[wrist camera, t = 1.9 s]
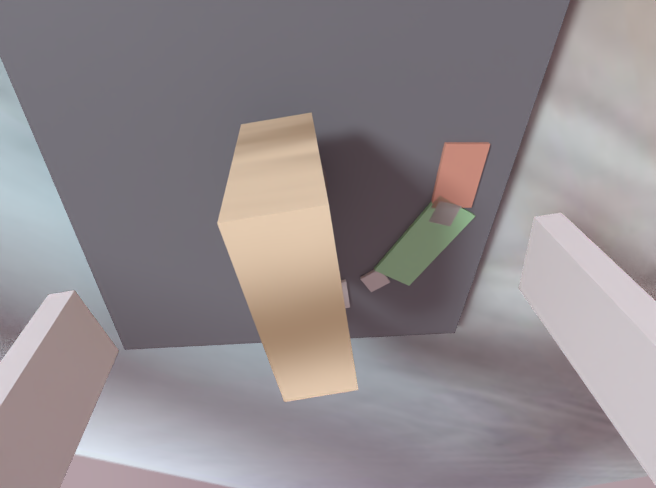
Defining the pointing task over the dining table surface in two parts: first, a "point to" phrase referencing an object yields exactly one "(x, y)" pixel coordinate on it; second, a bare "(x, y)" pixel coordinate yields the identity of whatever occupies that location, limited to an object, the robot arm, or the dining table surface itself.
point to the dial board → (270, 103)
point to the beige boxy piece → (288, 256)
